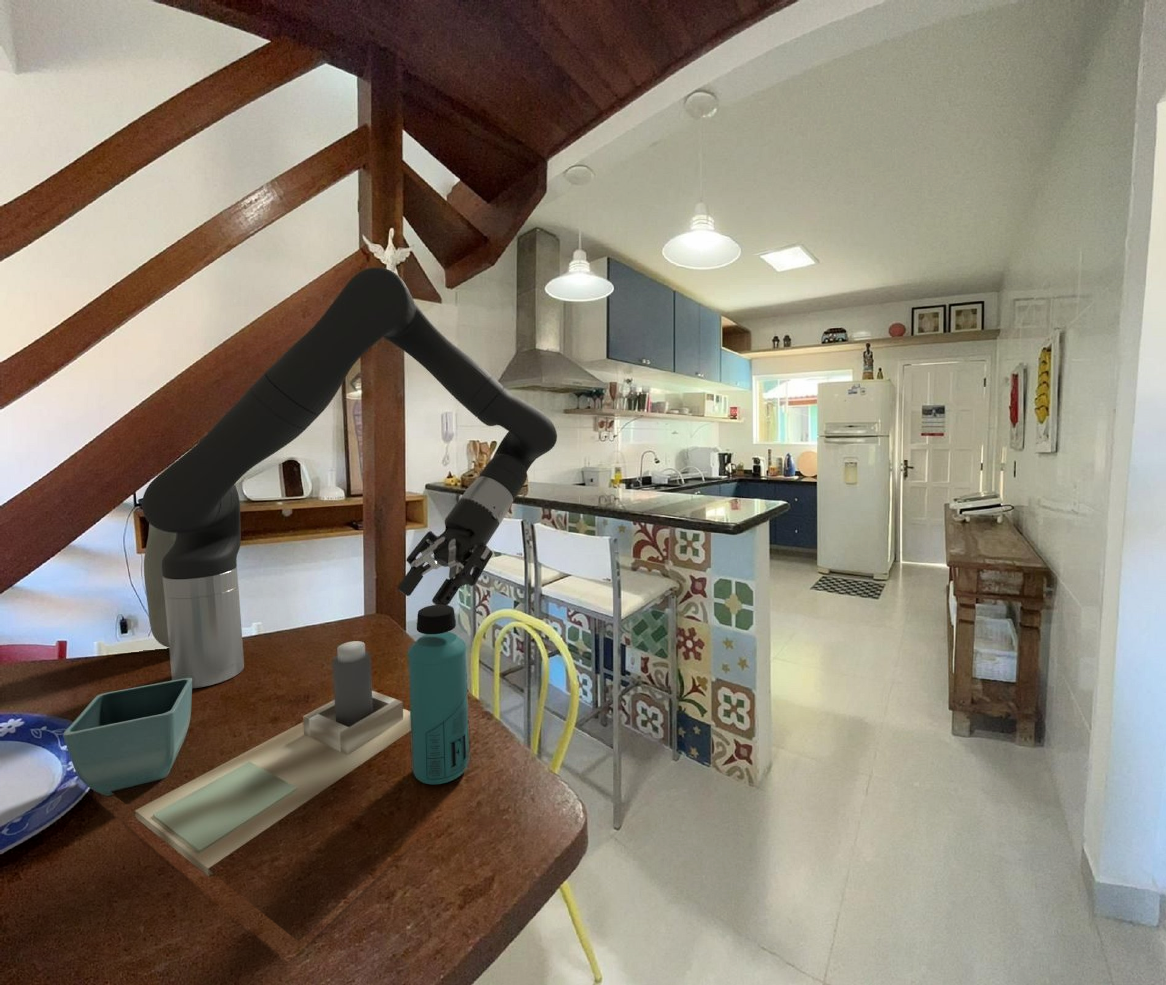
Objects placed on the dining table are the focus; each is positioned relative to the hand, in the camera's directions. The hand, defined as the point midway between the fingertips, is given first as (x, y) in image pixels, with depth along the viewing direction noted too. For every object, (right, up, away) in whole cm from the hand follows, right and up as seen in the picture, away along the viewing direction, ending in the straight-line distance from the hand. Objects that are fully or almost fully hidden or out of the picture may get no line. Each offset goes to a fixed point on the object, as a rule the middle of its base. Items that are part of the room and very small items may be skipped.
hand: (419, 599), depth 70 cm
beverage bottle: (+7, -17, -14) cm, 24 cm away
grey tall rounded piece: (-49, -13, +19) cm, 54 cm away
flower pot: (-27, -17, -15) cm, 35 cm away
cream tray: (-10, -17, -12) cm, 23 cm away
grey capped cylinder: (-6, -15, -6) cm, 18 cm away
